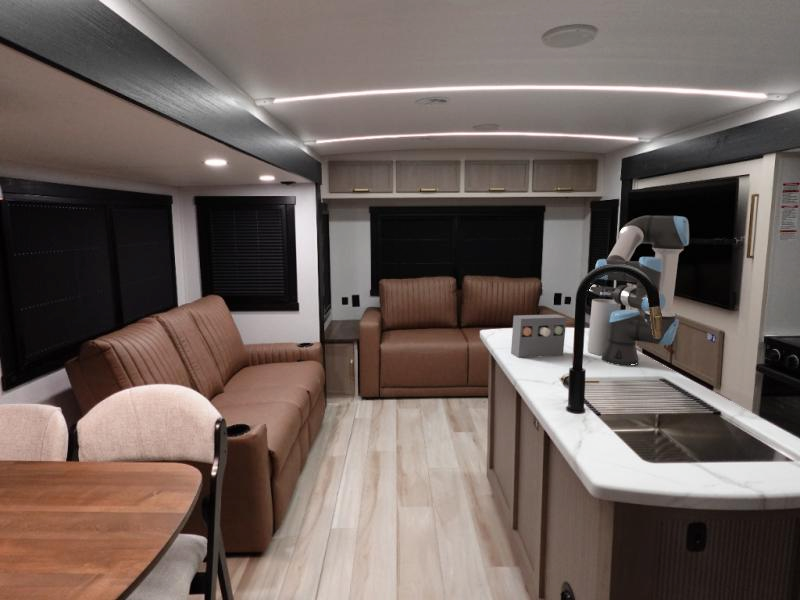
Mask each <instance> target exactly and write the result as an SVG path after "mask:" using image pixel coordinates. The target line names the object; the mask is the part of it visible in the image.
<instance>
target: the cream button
mask: <svg viewBox="0 0 800 600" xmlns="http://www.w3.org/2000/svg"><path fill="white" fill-rule="evenodd" d="M538 333H539V334H541V335H543V336H545V337H547V336H549V335H550V329H548V328H546V327H543V326H542V327H540V328H539V329H538Z"/></svg>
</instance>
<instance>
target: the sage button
mask: <svg viewBox="0 0 800 600" xmlns="http://www.w3.org/2000/svg"><path fill="white" fill-rule="evenodd" d="M562 331H563V329H562V327H560V326H557V325H554V333H555V334H558V335H559V334H561V333H562Z"/></svg>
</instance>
